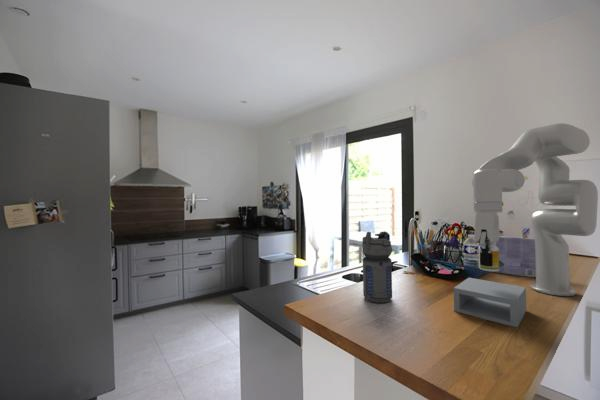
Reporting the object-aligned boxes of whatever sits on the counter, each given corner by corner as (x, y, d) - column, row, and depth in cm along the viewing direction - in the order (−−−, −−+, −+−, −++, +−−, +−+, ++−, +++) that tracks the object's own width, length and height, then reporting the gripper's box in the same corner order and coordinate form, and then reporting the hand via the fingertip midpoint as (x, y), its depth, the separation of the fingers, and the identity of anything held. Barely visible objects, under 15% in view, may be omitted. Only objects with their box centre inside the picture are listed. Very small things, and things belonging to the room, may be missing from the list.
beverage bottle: (401, 297, 99) (399, 230, 99) (380, 307, 90) (379, 233, 90) (377, 291, 107) (376, 228, 107) (356, 299, 98) (355, 231, 98)
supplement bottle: (502, 272, 83) (502, 240, 83) (483, 271, 84) (482, 240, 84) (493, 267, 88) (493, 238, 88) (475, 267, 89) (475, 238, 89)
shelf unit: (469, 298, 97) (468, 277, 97) (526, 310, 85) (525, 287, 85) (454, 310, 86) (453, 287, 86) (517, 327, 74) (516, 300, 75)
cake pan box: (542, 276, 121) (541, 237, 122) (543, 279, 118) (542, 239, 118) (491, 270, 134) (490, 235, 134) (490, 272, 130) (489, 236, 130)
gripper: (481, 207, 94) (482, 258, 94) (466, 208, 83) (467, 266, 83) (507, 207, 89) (508, 261, 89) (495, 208, 77) (496, 271, 77)
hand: (488, 263), depth 86 cm, fingers closed on supplement bottle, 5 cm apart
